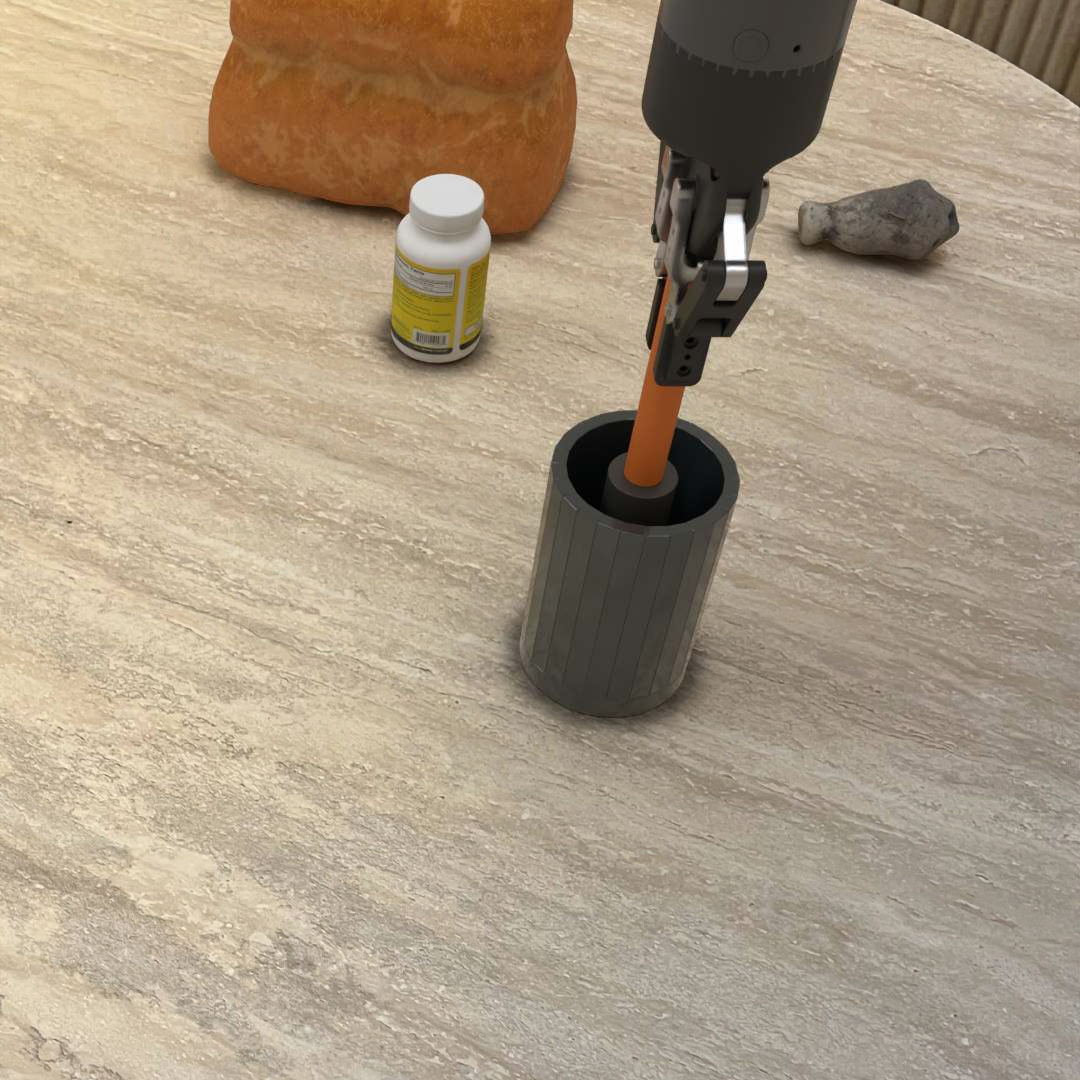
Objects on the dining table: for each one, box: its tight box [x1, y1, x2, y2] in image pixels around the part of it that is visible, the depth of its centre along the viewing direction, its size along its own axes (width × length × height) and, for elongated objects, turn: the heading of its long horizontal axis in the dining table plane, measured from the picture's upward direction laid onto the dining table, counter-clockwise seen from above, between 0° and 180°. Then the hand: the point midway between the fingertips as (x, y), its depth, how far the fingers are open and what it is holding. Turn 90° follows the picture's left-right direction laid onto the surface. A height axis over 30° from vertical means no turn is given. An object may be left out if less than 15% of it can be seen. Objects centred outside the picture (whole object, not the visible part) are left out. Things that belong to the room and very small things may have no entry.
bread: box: [207, 0, 578, 236], centre depth 122 cm, size 16×26×17 cm, turn 70°
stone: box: [797, 178, 960, 262], centre depth 120 cm, size 10×5×8 cm
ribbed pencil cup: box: [518, 409, 741, 718], centre depth 93 cm, size 10×10×14 cm
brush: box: [599, 276, 692, 526], centre depth 86 cm, size 4×4×20 cm
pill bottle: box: [390, 174, 492, 364], centre depth 111 cm, size 6×6×11 cm
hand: (671, 362), depth 82 cm, fingers closed on brush, 2 cm apart
